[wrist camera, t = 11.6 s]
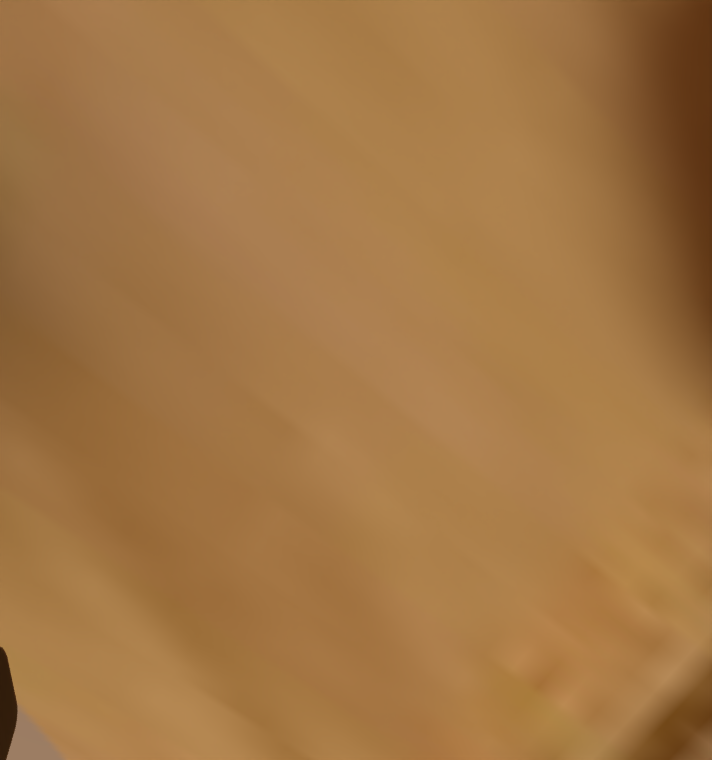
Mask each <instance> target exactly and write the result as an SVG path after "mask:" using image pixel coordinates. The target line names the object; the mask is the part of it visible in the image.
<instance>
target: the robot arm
mask: <svg viewBox="0 0 712 760" xmlns="http://www.w3.org/2000/svg"><path fill="white" fill-rule="evenodd" d="M16 721H17V701H16V696H15V692H14V687H13V682H12V677H11V673H10V668H9V663H8V658H7V655H6V652H5V651H4V649H3V648H2V647H0V760H6V758H7V755H8V752H9V748H10V745H11V741H12V738H13V734H14V731H15V727H16Z"/></svg>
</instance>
